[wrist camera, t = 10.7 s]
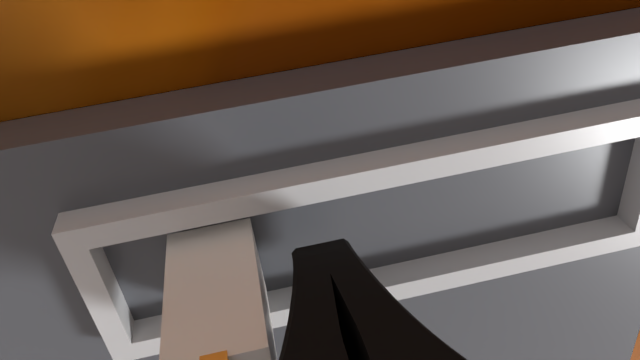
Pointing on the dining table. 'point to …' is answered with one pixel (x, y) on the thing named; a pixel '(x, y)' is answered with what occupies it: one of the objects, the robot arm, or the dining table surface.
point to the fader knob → (215, 296)
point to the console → (350, 194)
